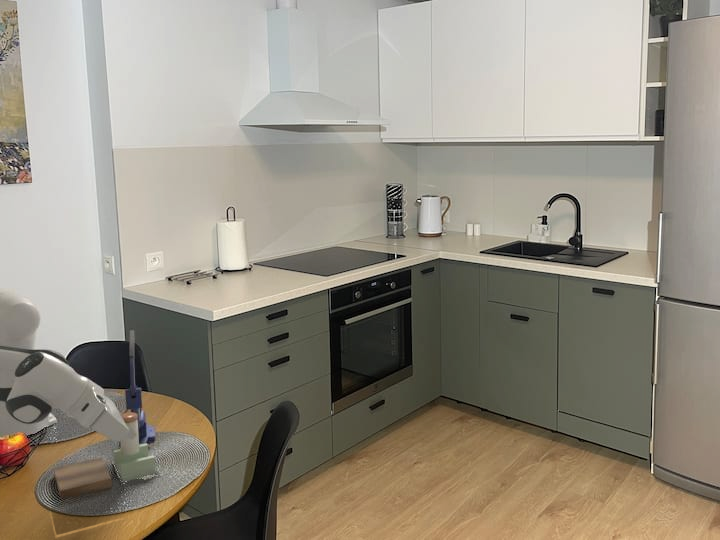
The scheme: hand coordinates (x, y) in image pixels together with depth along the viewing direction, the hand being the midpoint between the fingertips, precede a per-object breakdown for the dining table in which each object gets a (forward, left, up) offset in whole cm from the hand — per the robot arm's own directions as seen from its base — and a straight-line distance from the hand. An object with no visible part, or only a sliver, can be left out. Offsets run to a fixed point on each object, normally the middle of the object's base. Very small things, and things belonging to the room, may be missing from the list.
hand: (131, 431), depth 164 cm
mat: (-1, 0, -11) cm, 11 cm away
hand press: (-18, +5, -11) cm, 21 cm away
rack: (-1, 0, -10) cm, 10 cm away
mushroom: (0, -1, -5) cm, 5 cm away
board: (-1, -12, -11) cm, 16 cm away
